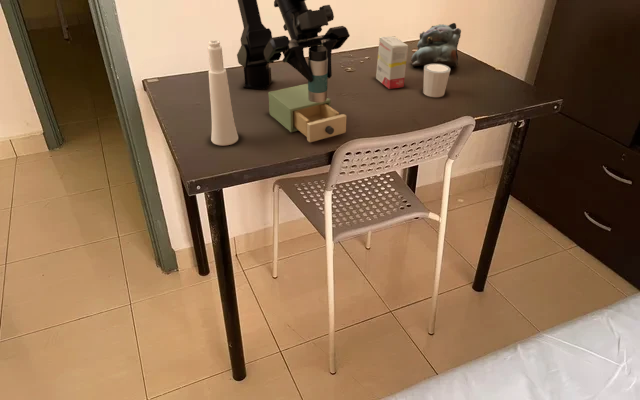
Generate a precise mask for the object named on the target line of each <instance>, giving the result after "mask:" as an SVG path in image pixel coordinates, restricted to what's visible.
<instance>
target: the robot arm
mask: <svg viewBox="0 0 640 400" xmlns="http://www.w3.org/2000/svg"><path fill="white" fill-rule="evenodd" d="M237 3H238V8H239V12H240V17H241V20H242V25H243V30H242V33H241V36H240V47H239V49H238V52H237V53H236V59H237V63H238V64H239V65H240V66H242V67H243V77H244V84H243V85H242V88H243V89H251V90H253V89H254V90H267V89H268V87H269V86H270V85H271V83H272V68H271V67H270V64H274V63H275V61H280V59H281V57H282V55H283V58H282V62H283V63H284V64H285V63H287V64H288V65H290V66H291V67H292V68H293V69H295V70H296V71H297V72H298V73H299V74H300V75H301V76H303V78H305V79H306V80H307V82H308V81H309V82H312V81H313V77H312V74H311V71H310V69H309V67H308V61H307V60H306V57H305V52H304V49H307V48H310V47H312V46H323V47H326V48H327V58H328V79H331V78H332V75H333V72H332V71H333V70H332V52H333V50H339V49H340V48H342V46H343V45H344V44H345V43H346V41H347V40H348V39H349V38H350V37H351V36H350V32H349V30H348V28H347V26H344V25H339V26H333V27H329V28H328V30H327V31H326V32H325V34H323V35H319V33H321V32H322V31H323V27H325V26H329V22H331V21H334V18H335V15H334V10H333V9H332V7H331V5H330V4H324V5H322V6H320V7H319V8H318V9H316V10H313V9H308V6H307V4H306V0H274V1H273V7H274V8H278V9H279V11H280V15H281V17H282V19H283V22H284V25H283V30H284V31H287V32H288V35H289V37H290V39H289V37H288V36H287V35H280V36H274V37H273V33H272V30H271V29H270V28H269V27H268V28H267V27H266V26H265V25H264V24H263V22H262V17H261V13H260V8H259V6H258V5H259V3H258V0H237Z"/></svg>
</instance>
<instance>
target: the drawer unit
mask: <svg viewBox="0 0 640 400" xmlns="http://www.w3.org/2000/svg"><path fill="white" fill-rule="evenodd" d="M324 103H326V104H327V105H329V106H330V107H331V108H332V106H331V105H332V100H331V98H329V97H328V96H327V100H326V101H324V102H320V103H316V102H311V101H309V100H308V83H304V84H300V85H294V86H290V87H285V88H281V89H277V90H272V91H268V108H269V115H270V116H271V117H272V118H273V119H274V120H276V121H277V122H278V123H279V124H280V125H281V126H282V127H284V128H285V129H287V131H289V132H290V133H294V132H299V130H298V129H297V128H295V127H294V126H293V111H296V110H300V109H304V108H308V107H312V106H316V105H320V104H324Z"/></svg>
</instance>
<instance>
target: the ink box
mask: <svg viewBox="0 0 640 400" xmlns="http://www.w3.org/2000/svg"><path fill="white" fill-rule="evenodd" d="M377 51H378V52H377V63H376V74H375V79H376V80H377V81H378V82H379V83H381V84H382V85H383V86H385V87H386V88H387V89H388V90H391V89H399V88H405V77H406V69H407V60H408V51H409V45H408V44H407V43H405V42H404V41H402V40H401V39H399V38H398V37H396V36H380V37H379V38H378V50H377Z"/></svg>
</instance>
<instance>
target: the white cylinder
mask: <svg viewBox="0 0 640 400" xmlns="http://www.w3.org/2000/svg"><path fill="white" fill-rule="evenodd" d="M450 73H451V67H449V66H446V65H442V64H428V65H423V84H422V87H423V88H422V89H423V90H422V93H423V94H424V95H425V96H427V97H430V98H441V97H444V96H445V93H446V90H447V85H448V81H449V77H450Z"/></svg>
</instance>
